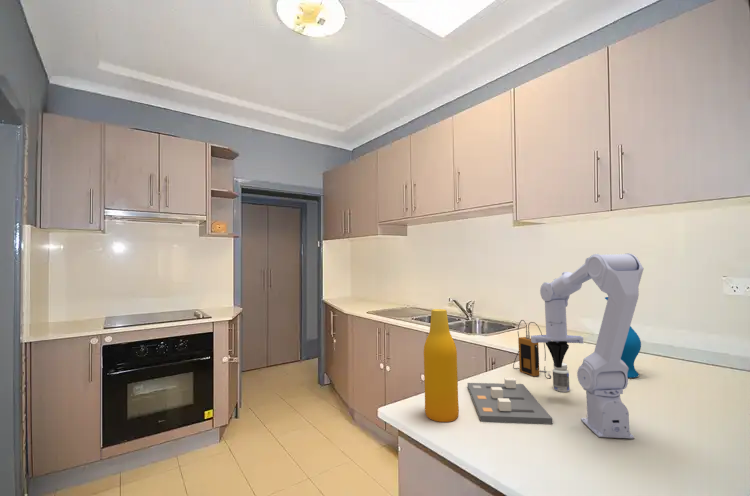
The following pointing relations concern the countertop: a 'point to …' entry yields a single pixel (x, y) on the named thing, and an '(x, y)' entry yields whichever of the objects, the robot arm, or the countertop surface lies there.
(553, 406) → the countertop surface
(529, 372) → the multimeter
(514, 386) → the block
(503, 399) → the white block
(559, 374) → the pill bottle
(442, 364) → the beer bottle
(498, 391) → the middle tab
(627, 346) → the vase
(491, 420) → the switch board
